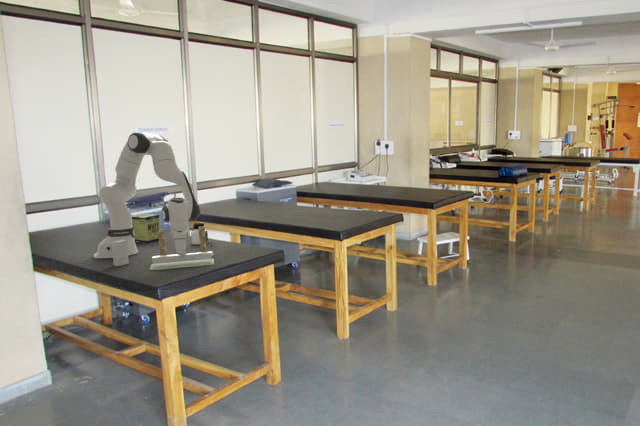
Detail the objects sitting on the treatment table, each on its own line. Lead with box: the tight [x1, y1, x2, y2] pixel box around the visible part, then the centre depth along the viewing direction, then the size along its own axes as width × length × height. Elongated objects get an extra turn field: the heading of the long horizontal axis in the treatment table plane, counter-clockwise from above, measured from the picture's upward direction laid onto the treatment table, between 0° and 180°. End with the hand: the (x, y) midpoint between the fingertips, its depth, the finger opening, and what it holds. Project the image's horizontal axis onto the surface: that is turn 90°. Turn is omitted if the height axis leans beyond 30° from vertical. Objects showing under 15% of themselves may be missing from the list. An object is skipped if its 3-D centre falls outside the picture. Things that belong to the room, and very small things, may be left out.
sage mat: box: [149, 258, 215, 271], centre depth 250 cm, size 30×10×1 cm, turn 103°
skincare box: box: [111, 240, 130, 267], centre depth 253 cm, size 6×4×12 cm
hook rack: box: [158, 225, 215, 258], centre depth 264 cm, size 30×8×15 cm, turn 103°
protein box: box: [132, 213, 161, 244], centre depth 309 cm, size 10×16×16 cm
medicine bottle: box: [190, 221, 209, 245], centre depth 297 cm, size 7×7×12 cm
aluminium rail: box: [151, 250, 213, 264], centre depth 249 cm, size 28×3×3 cm, turn 103°
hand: (182, 259), depth 250 cm, fingers closed on aluminium rail, 3 cm apart
